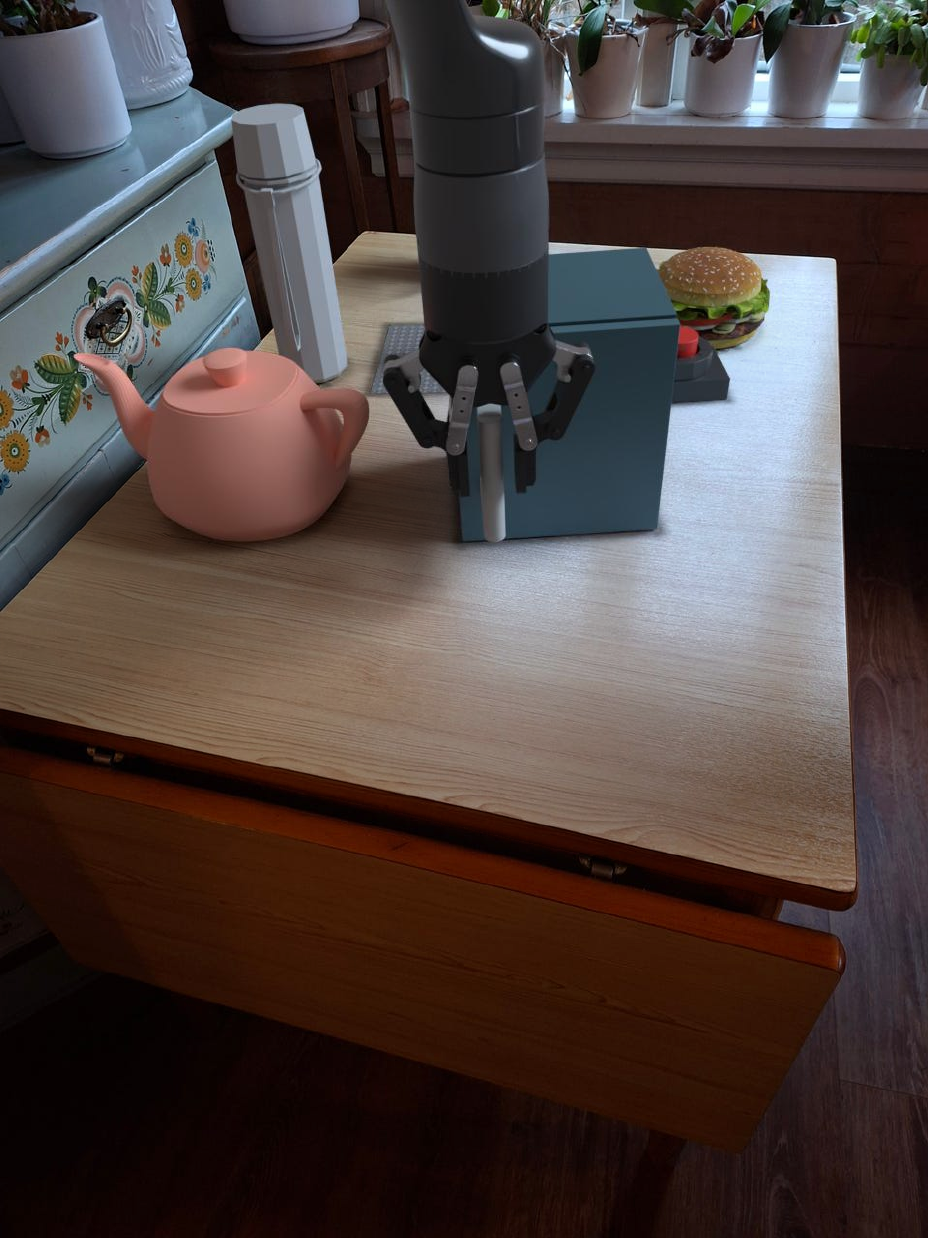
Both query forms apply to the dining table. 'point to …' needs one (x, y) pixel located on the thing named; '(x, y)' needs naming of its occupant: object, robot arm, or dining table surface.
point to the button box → (700, 376)
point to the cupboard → (605, 288)
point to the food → (716, 294)
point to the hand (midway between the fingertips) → (493, 488)
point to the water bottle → (291, 235)
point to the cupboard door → (582, 443)
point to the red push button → (687, 342)
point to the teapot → (240, 442)
